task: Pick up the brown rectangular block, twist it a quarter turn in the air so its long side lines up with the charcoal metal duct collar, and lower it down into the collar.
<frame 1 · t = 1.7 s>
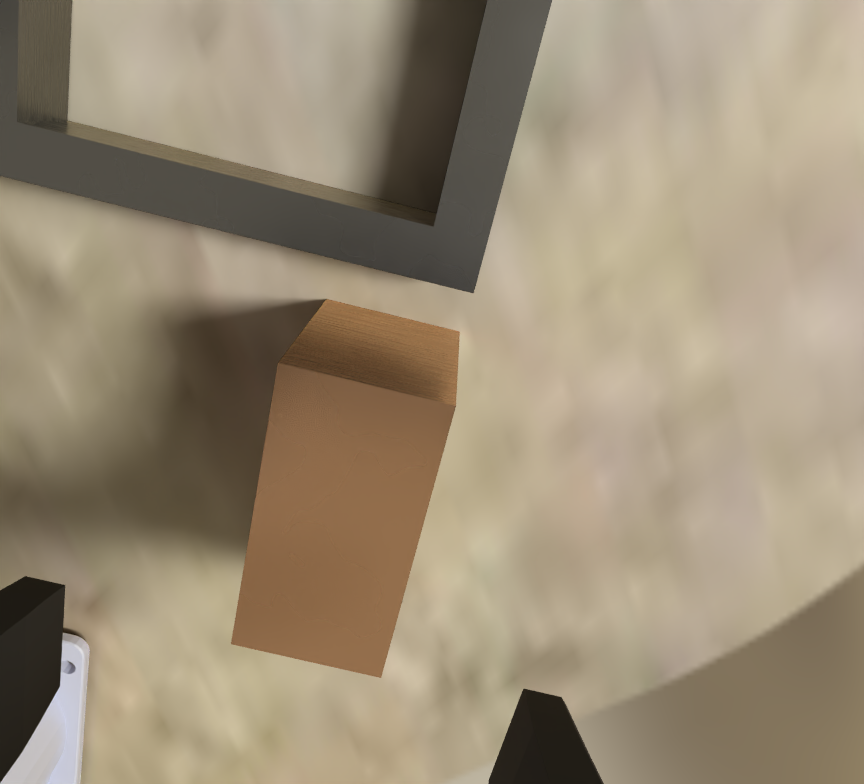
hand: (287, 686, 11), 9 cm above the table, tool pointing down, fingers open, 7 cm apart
duct collar: (271, 43, 16), on the table
brown rectangular block: (366, 433, 20), on the table
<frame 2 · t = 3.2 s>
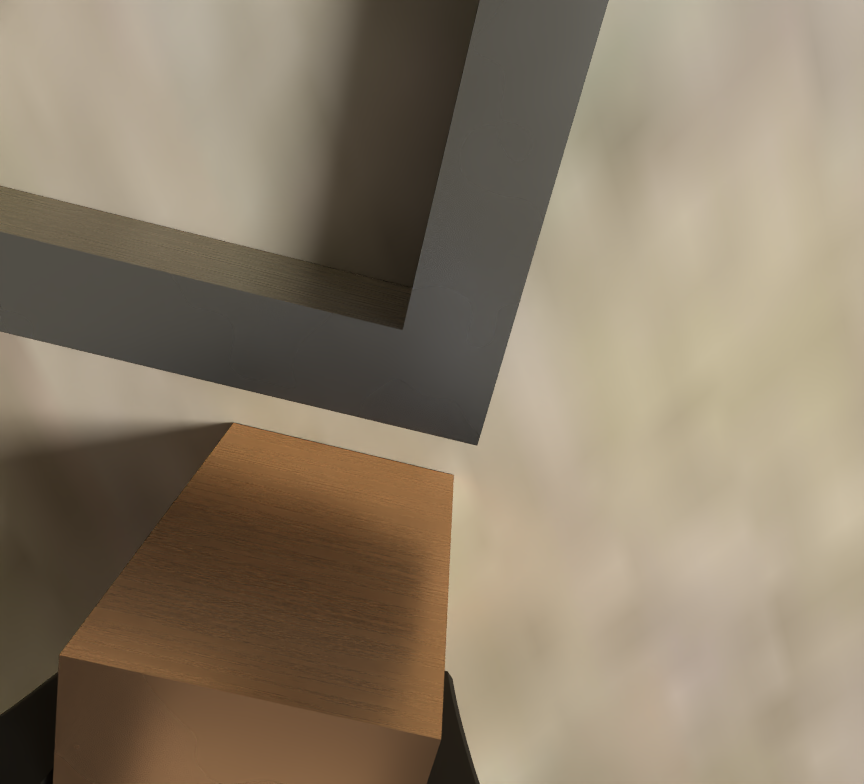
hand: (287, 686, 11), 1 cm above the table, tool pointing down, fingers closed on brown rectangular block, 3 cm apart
brown rectangular block: (306, 624, 12), on the table, touching gripper
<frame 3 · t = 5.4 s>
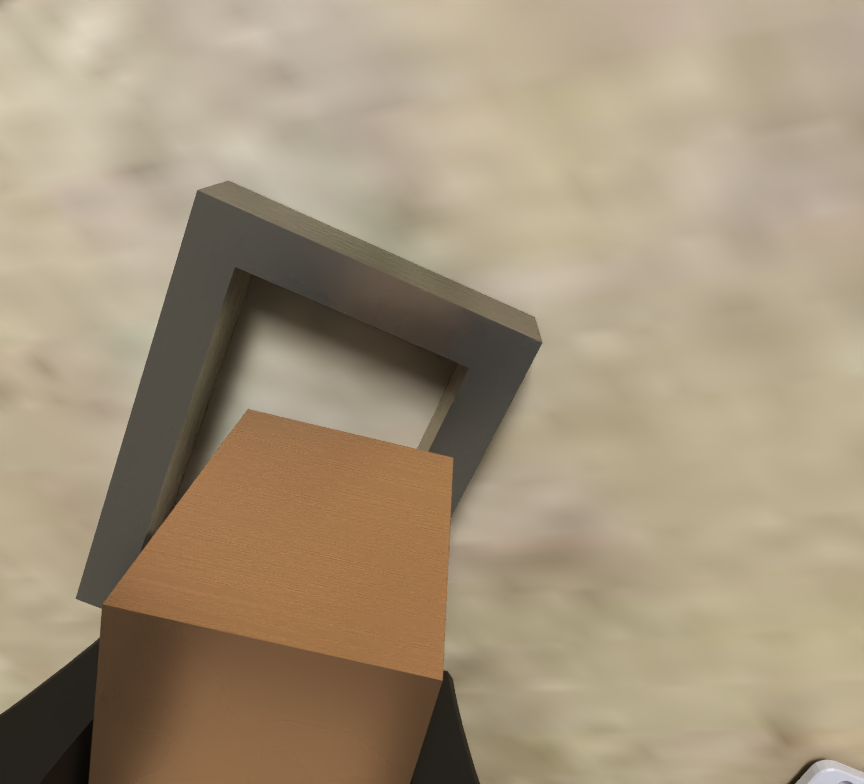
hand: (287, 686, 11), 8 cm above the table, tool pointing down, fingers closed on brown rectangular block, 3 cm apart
duct collar: (304, 446, 19), on the table
brown rectangular block: (315, 600, 13), point 6 cm above the table, touching gripper
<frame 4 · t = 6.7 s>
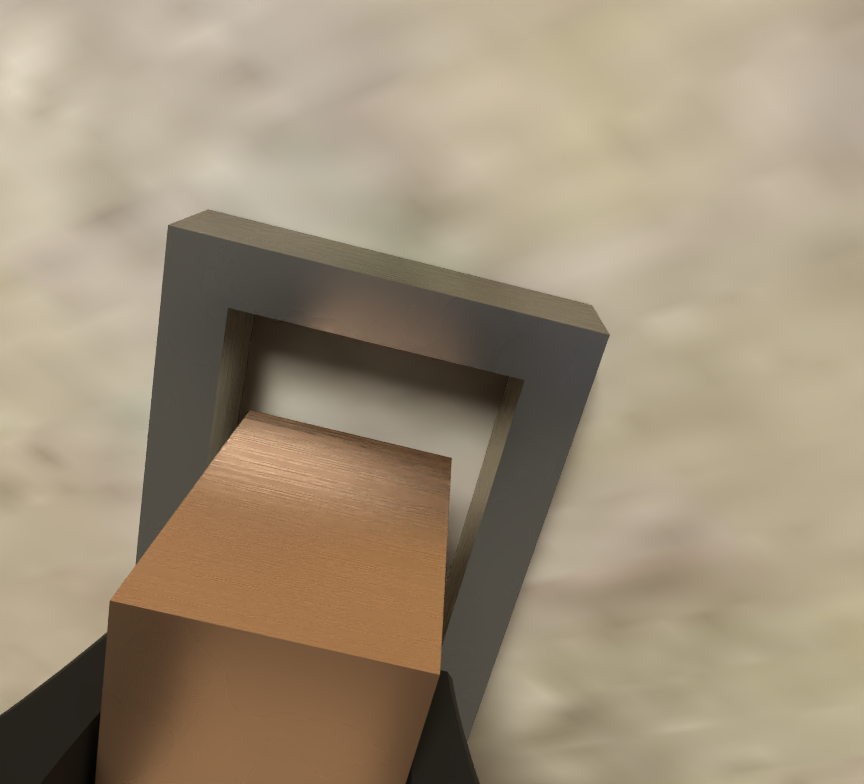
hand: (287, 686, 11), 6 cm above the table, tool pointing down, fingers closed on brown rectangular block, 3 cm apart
duct collar: (348, 497, 16), on the table
brown rectangular block: (315, 597, 13), point 3 cm above the table, touching gripper
when the fingers open (3 cm above the table, at t = 7.6 s): brown rectangular block drops 1 cm, resting in duct collar.
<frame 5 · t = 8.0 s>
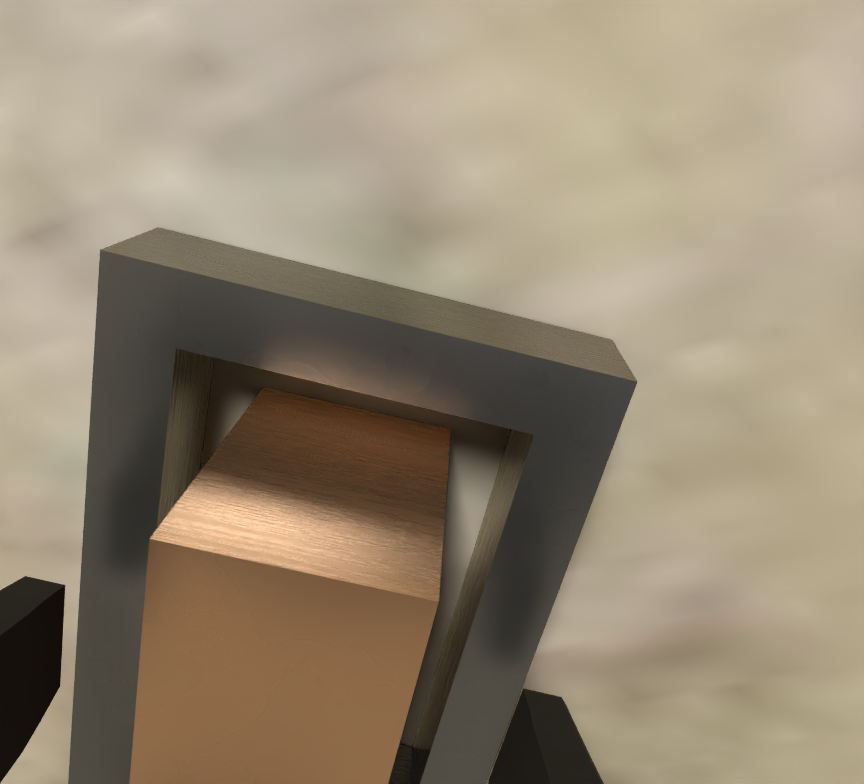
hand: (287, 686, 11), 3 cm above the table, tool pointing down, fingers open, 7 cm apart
duct collar: (328, 557, 14), on the table
brown rectangular block: (327, 560, 14), resting in duct collar
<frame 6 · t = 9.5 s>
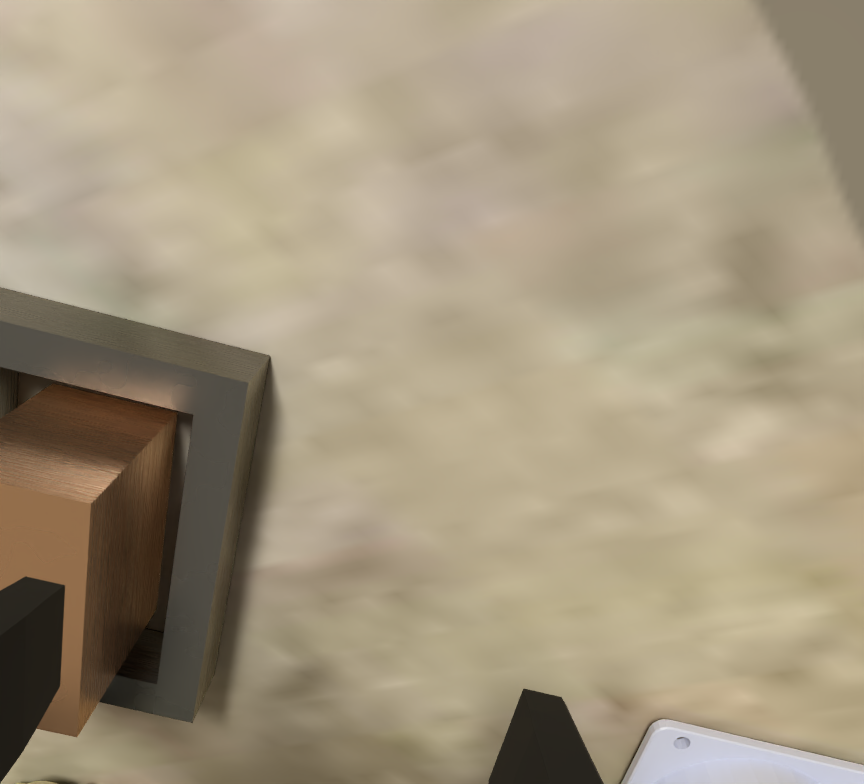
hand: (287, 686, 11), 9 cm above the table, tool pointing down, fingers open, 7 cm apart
duct collar: (107, 499, 21), on the table
brown rectangular block: (109, 502, 21), resting in duct collar
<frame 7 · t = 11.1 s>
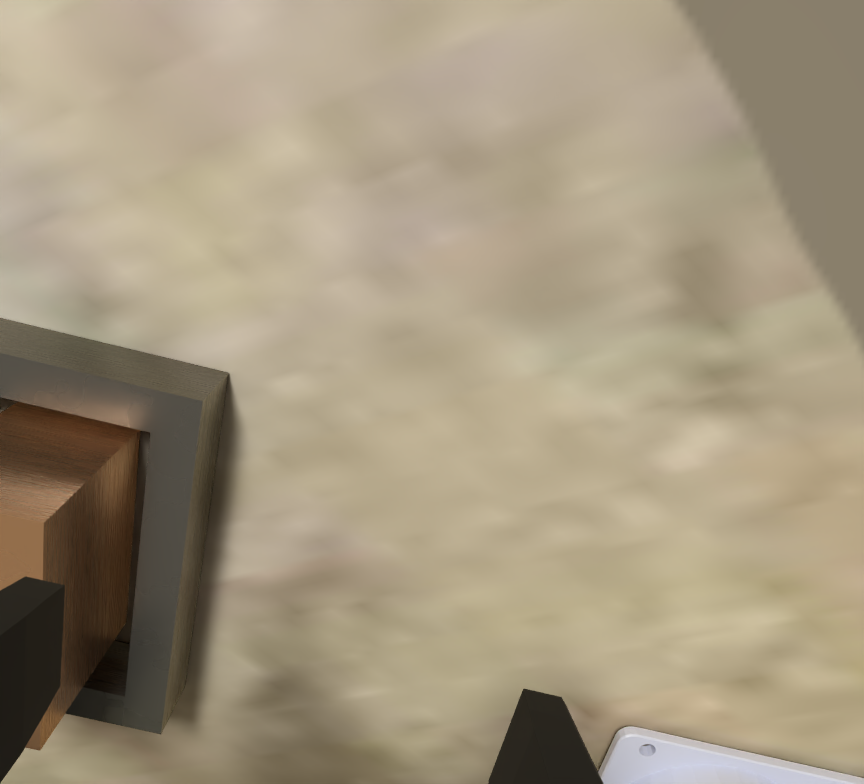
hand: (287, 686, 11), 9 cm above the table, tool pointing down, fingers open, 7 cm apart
duct collar: (75, 514, 21), on the table
brown rectangular block: (77, 517, 21), resting in duct collar
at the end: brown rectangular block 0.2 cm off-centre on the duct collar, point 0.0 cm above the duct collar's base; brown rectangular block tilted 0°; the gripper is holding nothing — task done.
